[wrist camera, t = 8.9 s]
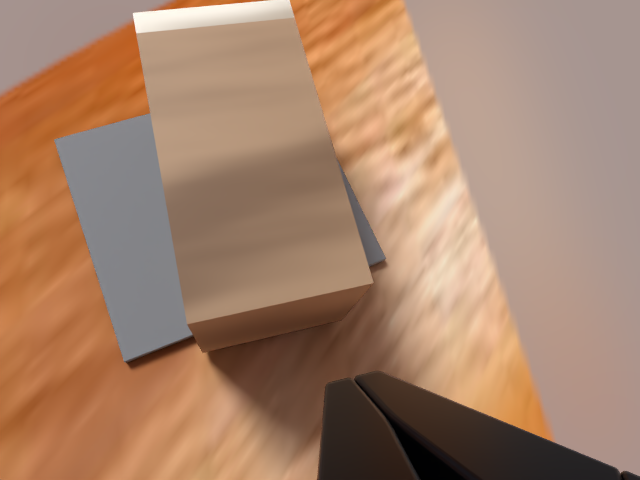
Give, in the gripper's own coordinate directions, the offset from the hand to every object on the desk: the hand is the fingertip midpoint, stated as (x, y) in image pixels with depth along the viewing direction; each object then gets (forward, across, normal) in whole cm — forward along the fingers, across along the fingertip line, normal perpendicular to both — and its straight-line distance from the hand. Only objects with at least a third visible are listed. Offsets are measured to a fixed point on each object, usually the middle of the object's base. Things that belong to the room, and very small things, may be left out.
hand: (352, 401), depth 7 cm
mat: (+13, -1, -1) cm, 14 cm away
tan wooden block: (+8, 0, -3) cm, 8 cm away
